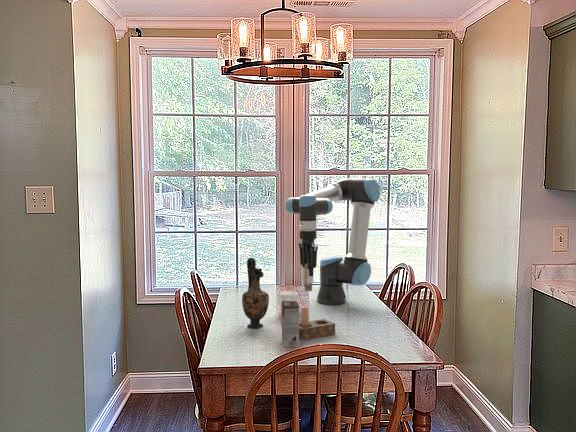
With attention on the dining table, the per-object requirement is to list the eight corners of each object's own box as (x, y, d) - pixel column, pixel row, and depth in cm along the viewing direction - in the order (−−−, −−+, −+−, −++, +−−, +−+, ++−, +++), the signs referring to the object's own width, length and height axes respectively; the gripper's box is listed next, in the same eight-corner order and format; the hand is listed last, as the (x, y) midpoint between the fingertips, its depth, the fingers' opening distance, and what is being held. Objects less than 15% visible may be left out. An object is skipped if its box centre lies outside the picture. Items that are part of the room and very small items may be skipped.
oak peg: (309, 289, 247) (309, 263, 246) (313, 290, 244) (313, 264, 243) (303, 290, 246) (303, 263, 245) (307, 291, 243) (307, 264, 242)
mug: (296, 319, 252) (296, 297, 251) (278, 318, 253) (278, 296, 252) (298, 312, 264) (298, 291, 263) (281, 312, 265) (281, 291, 264)
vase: (248, 331, 234) (247, 262, 231) (237, 324, 245) (236, 258, 242) (273, 327, 239) (272, 259, 237) (261, 320, 250) (260, 255, 247)
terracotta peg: (306, 334, 229) (306, 306, 228) (310, 336, 227) (310, 307, 226) (299, 335, 228) (299, 307, 227) (303, 337, 225) (303, 308, 224)
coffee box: (281, 340, 222) (281, 301, 221) (297, 339, 223) (297, 300, 221) (283, 347, 213) (282, 306, 212) (299, 346, 214) (299, 306, 212)
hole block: (323, 328, 237) (323, 318, 236) (335, 334, 229) (335, 323, 229) (291, 334, 229) (291, 323, 229) (301, 340, 221) (301, 329, 221)
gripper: (292, 228, 248) (292, 280, 250) (309, 232, 234) (309, 286, 236) (306, 227, 251) (306, 278, 253) (324, 231, 237) (324, 284, 240)
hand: (308, 282), depth 245 cm, fingers closed on oak peg, 3 cm apart
